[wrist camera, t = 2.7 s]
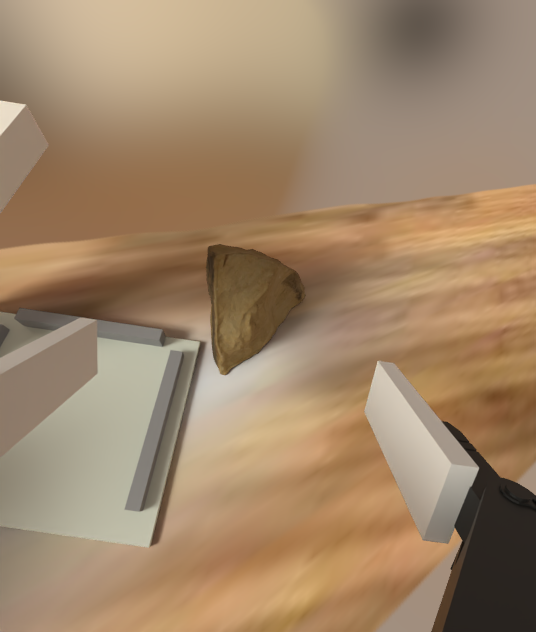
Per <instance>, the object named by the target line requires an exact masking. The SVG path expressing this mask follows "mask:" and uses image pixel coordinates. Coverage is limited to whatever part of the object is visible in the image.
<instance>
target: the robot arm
mask: <svg viewBox="0 0 536 632" xmlns="http://www.w3.org/2000/svg"><path fill="white" fill-rule="evenodd" d="M97 374H98V365H97V320H94V319H87V318H79V319H77V320H75V321H73V322H71V323H69V324H67V325H65V326H63V327H61V328H59V329H57V330H55V331H53V332H51V333H49V334H47V335H45V336H43V337H41V338H39V339H37V340H35V341H33V342H31V343H29V344H27V345H25V346H23V347H21V348H19V349H17V350H15V351H13V352H11V353H9V354H7V355H5V356H3V357H1V358H0V458H1V457H2V456H3V455H4V454H5V453H6V452H8V451H9V450H10V449H11V448H12V447H13V446H15V445H16V444H17V443H18V442H19V441H20V440H21V439H23V438H24V437H25V436H26V435H27V434H28V433H30V432H31V431H32V430H33V429H34V428H35V427H36V426H38V425H39V424H40V423H41V422H42V421H43V420H45V419H46V418H47V417H48V416H49V415H50V414H52V413H53V412H54V411H55V410H56V409H57V408H58V407H60V406H61V405H62V404H63V403H64V402H65V401H67V400H68V399H69V398H70V397H71V396H72V395H73V394H75V393H76V392H77V391H78V390H79V389H80V388H82V387H83V386H84V385H85V384H86V383H87V382H89V381H90V380H91V379H92V378H93V377H94V376H95V375H97ZM364 412H365V414H366V417H367V419H368V421H369V423H370V425H371V428H372V430H373V432H374V434H375V436H376V439H377V441H378V443H379V445H380V447H381V450H382V452H383V454H384V456H385V458H386V460H387V463H388V465H389V467H390V469H391V471H392V474H393V476H394V478H395V480H396V482H397V485H398V487H399V489H400V491H401V493H402V496H403V498H404V500H405V502H406V504H407V507H408V509H409V511H410V513H411V515H412V518H413V520H414V522H415V524H416V526H417V529H418V531H419V533H420V535H421V537H422V540H425V541H432V542H440V543H447V544H448V543H449V541H450V538H451V536H452V533H453V531H454V528H456V530H457V532H458V534H459V535H460V537H461V539H462V543H461V545H460V548H459V550H458V553H457V555H456V557H455V560H454V562H453V564H452V567H451V570H452V571H451V574H450V577H449V580H448V583H447V586H446V589H445V593H444V595H443V598H442V602H441V604H440V607H439V610H438V613H437V616H436V619H435V622H434V625H433V629H432V631H431V632H536V496H535V495H534V494H533V493H532V492H530V491H529V490H528V489H526V488H525V487H523V486H521V485H520V484H518V483H516V482H513V481H511V480H508V479H505V478H500V477H499V475H498V474H497V473H496V472H495V471H494V470H493V469H492V467H491V466H490V465H489V464H488V463H487V462H486V460H485V459H484V458H483V457H482V456H481V455H480V454H479V452H476V449H475V448H474V447H473V445H472V444H470V443H469V441H468V440H467V438H466V437H465V436H464V435H463V434H462V433H461V432H460V431H459V430H458V429H456V428H455V427H454V426H452V425H451V424H449V423H448V422H443V421H441V420H440V419H439V418H438V417H437V415H436V414H435V413H434V412H433V410H432V409H431V408H430V407H429V406H428V404H427V403H426V402H425V401H424V399H423V398H422V397H421V396H420V394H419V393H418V392H417V391H416V390H415V388H414V387H413V386H412V385H411V383H410V382H409V381H408V380H407V379H406V377H405V376H404V375H403V374H402V372H401V371H400V370H399V369H398V367H397V366H396V365H395V364H394V363H390V362H383V361H378V362H377V366H376V369H375V373H374V377H373V381H372V384H371V388H370V392H369V396H368V399H367V403H366V407H365V411H364Z"/></svg>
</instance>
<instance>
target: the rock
mask: <svg viewBox="0 0 536 632" xmlns="http://www.w3.org/2000/svg"><path fill="white" fill-rule="evenodd" d="M206 272H207V284H208V291H209V295H210V298H211V303H212V307H211V318H210V321H211V338H212V350H213V357H214V360H215V362H216V365H217V366H218V368H219V371H220V374H222V375H226V374H228V372H229V371H230V370H231V369H232V368H233V367H235V366H236V365H238V364H240V363H241V362H242V361H244V360H246V359H249V358H250V357H252V356H253V355H254V354H258V353H259V351H260V350H261V349H262V348H263V346H264V345H265V344H267V342H269V341H270V340H271V338H272V336H273V335H274V334H275V332H276V331H277V327H278V326H279V325H280V324H281V323H282V322H283V321H284V320H285V318H286V316H287V314H288V312H289V310H290V309H291V308H293V307H295V306H296V305H297V304H299V303H300V302H301V301H302V300H303V299H304V297H305V292H304V286H303V285H302V283H301V279H300V277H299V274H298V273H297V272H296V271H294V270H292V269H291V268H289V267H287V266H285V265H283V264H282V263H281V262H280V261H279V260H277V259H274V258H271V257H268V256H266V255H265V254H263V253H261V252H258V251H256V250H253V249H250V250H245V249H242V248H238V247H231V246H225V245H221V244H219V245H213V246H209V247H208V257H207V265H206Z"/></svg>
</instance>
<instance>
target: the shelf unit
mask: <svg viewBox="0 0 536 632" xmlns="http://www.w3.org/2000/svg"><path fill="white" fill-rule="evenodd" d="M47 147H48V143H47V141H46V139H45V137H44V136H43V134H42V132H41V130H40V128H39V127H38V125H37V123H36V121H35V120H34V118H33V116H32V114H31V112H30V111H29V109H28V107H27V106H26V105H25V104H18V103H12V102H6V101H0V213H1V212H2V210H3V209H4V207H5V206H6V205H7V203H8V202H9V200H10V199H11V197H12V196H13V195H14V193H15V192H16V190H17V189H18V188H19V186H20V185H21V183H22V182H23V181H24V179H25V178H26V176H27V175H28V173H29V172H30V171H31V169H32V168H33V166H34V165H35V164H36V162H37V161H38V159H39V158H40V156H41V155H42V154H43V152H44V151H45V150H46V148H47ZM79 318H84V317H77V316H70V315H64V314H57V313H50V312H44V311H37V310H31V309H24V308H19V310H18V312H17V314H13V313H6V312H0V358H1V357H3V356H5V355H7V354H9V353H11V352H13V351H15V350H17V349H19V348H21V347H23V346H25V345H27V344H29V343H31V342H33V341H35V340H37V339H39V338H41V337H43V336H45V335H47V334H49V333H51V332H53V331H55V330H57V329H59V328H61V327H63V326H65V325H67V324H69V323H71V322H73V321H75V320H77V319H79ZM87 319H90V318H87ZM94 320H97V319H94ZM199 348H200V342H198V341H192V340H185V339H178V338H172V337H166V336H165V333H164V331H163V329H156V328H150V327H143V326H137V325H130V324H123V323H117V322H110V321H103V320H97V365H98V374H97V375H95V376H94V377H93V378H92V379H91V380H90V381H89V382H87V383H86V384H85V385H84V386H83V387H82V388H80V389H79V390H78V391H77V392H76V393H75V394H73V395H72V396H71V397H70V398H69V399H68V400H67V401H65V402H64V403H63V404H62V405H61V406H60V407H58V408H57V409H56V410H55V411H54V412H53V413H52V414H50V415H49V416H48V417H47V418H46V419H45V420H43V421H42V422H41V423H40V424H39V425H38V426H36V427H35V428H34V429H33V430H32V431H31V432H30V433H28V434H27V435H26V436H25V437H24V438H23V439H21V440H20V441H19V442H18V443H17V444H16V445H15V446H13V447H12V448H11V449H10V450H9V451H8V452H6V453H5V454H4V455H3V456H2V457H1V458H0V527H7V528H14V529H21V530H28V531H35V532H42V533H49V534H56V535H63V536H70V537H77V538H84V539H92V540H99V541H106V542H113V543H120V544H127V545H134V546H141V547H148V548H149V547H150V546H151V543H152V539H153V535H154V531H155V527H156V523H157V518H158V514H159V510H160V506H161V502H162V498H163V494H164V490H165V486H166V482H167V478H168V474H169V470H170V466H171V462H172V457H173V453H174V449H175V445H176V441H177V437H178V433H179V429H180V425H181V421H182V417H183V413H184V409H185V405H186V401H187V396H188V392H189V388H190V384H191V380H192V376H193V372H194V368H195V364H196V360H197V356H198V352H199Z"/></svg>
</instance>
